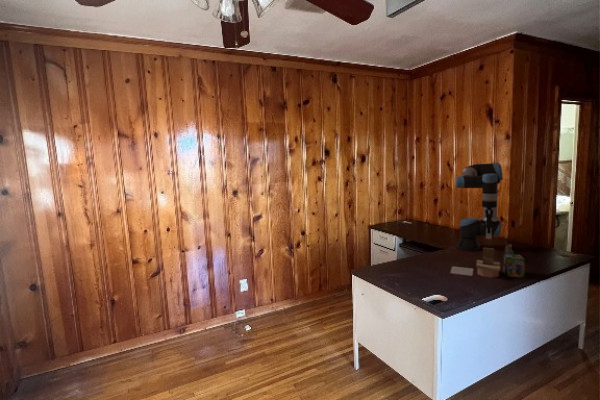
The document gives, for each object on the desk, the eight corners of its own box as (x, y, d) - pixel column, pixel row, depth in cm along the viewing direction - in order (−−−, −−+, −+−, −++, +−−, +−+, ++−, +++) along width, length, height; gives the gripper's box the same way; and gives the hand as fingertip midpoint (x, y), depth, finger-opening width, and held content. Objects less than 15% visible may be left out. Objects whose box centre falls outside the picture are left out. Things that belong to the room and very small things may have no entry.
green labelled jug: (524, 278, 182) (525, 253, 180) (506, 277, 186) (506, 252, 184) (520, 272, 191) (521, 248, 189) (502, 271, 194) (503, 248, 192)
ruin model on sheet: (509, 259, 215) (510, 245, 214) (504, 258, 217) (505, 245, 216) (512, 255, 224) (512, 241, 223) (507, 254, 226) (507, 241, 225)
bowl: (477, 270, 198) (477, 262, 197) (498, 272, 193) (498, 264, 192) (477, 276, 189) (477, 267, 188) (499, 279, 183) (499, 270, 182)
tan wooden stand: (476, 261, 198) (477, 245, 197) (499, 264, 192) (500, 247, 191) (476, 267, 188) (476, 250, 187) (500, 270, 182) (500, 252, 181)
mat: (452, 267, 206) (452, 266, 206) (473, 269, 200) (473, 268, 200) (450, 273, 195) (450, 273, 195) (472, 276, 189) (472, 275, 189)
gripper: (482, 197, 197) (481, 230, 200) (481, 203, 176) (480, 240, 179) (496, 197, 194) (495, 231, 197) (497, 203, 172) (496, 241, 175)
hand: (488, 235), depth 188 cm, fingers open, 13 cm apart
